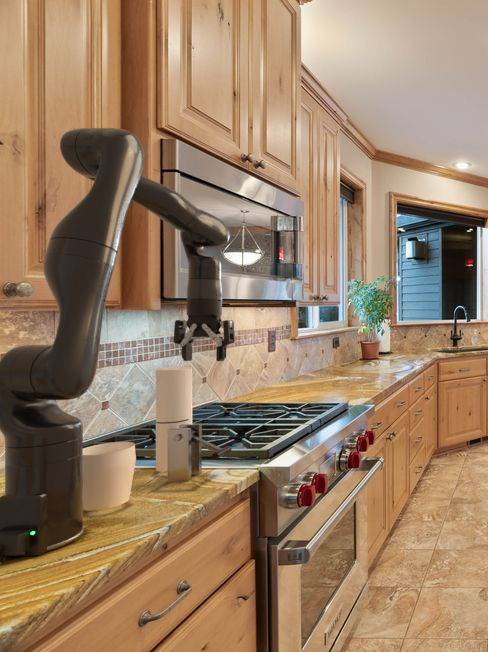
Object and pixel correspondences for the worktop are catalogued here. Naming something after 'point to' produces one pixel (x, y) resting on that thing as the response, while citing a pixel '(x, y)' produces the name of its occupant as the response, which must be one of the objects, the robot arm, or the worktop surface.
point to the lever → (209, 445)
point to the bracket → (184, 453)
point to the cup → (107, 474)
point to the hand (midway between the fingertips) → (204, 360)
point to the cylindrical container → (171, 407)
